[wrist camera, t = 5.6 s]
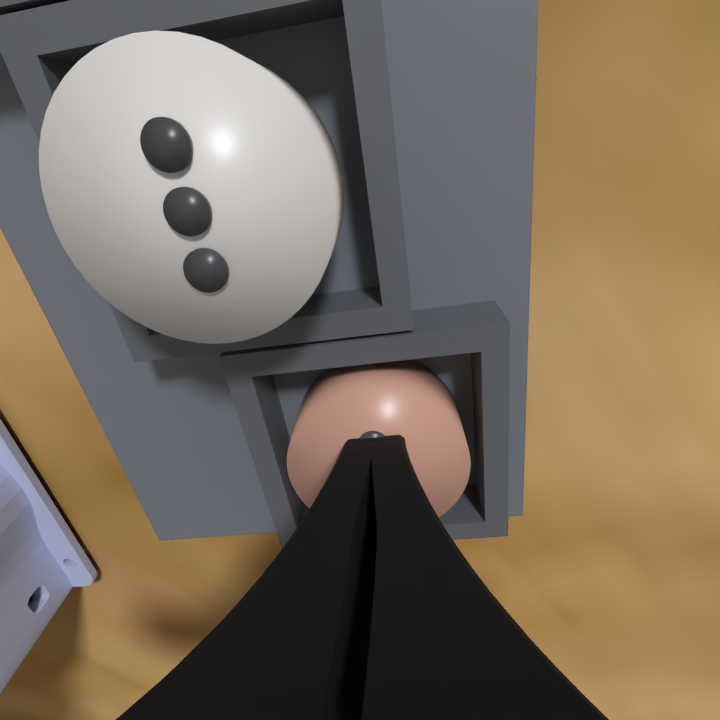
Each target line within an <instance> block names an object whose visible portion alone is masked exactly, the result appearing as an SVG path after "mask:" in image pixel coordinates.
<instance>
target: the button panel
mask: <svg viewBox="0 0 720 720" xmlns="http://www.w3.org/2000/svg"><path fill="white" fill-rule="evenodd" d="M537 28H538V0H0V228H1V230H2V232H3V234H4V236H5V238H6V240H7V242H8V244H9V246H10V248H11V250H12V252H13V253H14V255H15V257H16V259H17V261H18V263H19V265H20V267H21V269H22V271H23V273H24V275H25V277H26V279H27V281H28V283H29V285H30V287H31V289H32V291H33V293H34V295H35V297H36V299H37V301H38V303H39V305H40V307H41V308H42V310H43V312H44V314H45V316H46V318H47V320H48V322H49V324H50V326H51V328H52V330H53V332H54V334H55V336H56V338H57V340H58V342H59V344H60V346H61V348H62V350H63V352H64V354H65V356H66V358H67V360H68V362H69V364H70V365H71V367H72V369H73V371H74V373H75V375H76V377H77V379H78V381H79V383H80V385H81V387H82V389H83V391H84V393H85V395H86V397H87V399H88V401H89V403H90V405H91V407H92V409H93V411H94V413H95V415H96V417H97V419H98V420H99V422H100V424H101V426H102V428H103V430H104V432H105V434H106V436H107V438H108V440H109V442H110V444H111V446H112V448H113V450H114V452H115V454H116V456H117V458H118V460H119V462H120V464H121V466H122V468H123V470H124V472H125V474H126V475H127V477H128V479H129V481H130V483H131V485H132V487H133V489H134V491H135V493H136V495H137V497H138V499H139V501H140V503H141V505H142V507H143V509H144V511H145V513H146V515H147V517H148V519H149V521H150V523H151V525H152V527H153V529H154V530H155V532H156V534H157V536H158V538H159V540H174V539H188V538H203V537H217V536H232V535H246V534H261V533H275V532H277V534H278V537H279V540H280V543H281V546H282V549H283V547H284V546H285V544H286V543H287V542H288V540H289V539H290V537H291V536H292V534H293V533H294V531H295V530H296V528H297V527H298V525H299V524H300V522H301V521H302V519H303V518H304V516H305V515H306V513H307V512H308V510H309V508H308V507H307V506H306V505H305V504H304V503H303V502H302V500H301V499H300V498H299V496H298V495H297V494H296V492H295V490H294V488H293V486H292V484H291V482H290V479H289V476H288V471H287V452H288V447H289V444H290V440H291V437H292V434H293V430H294V427H295V423H296V420H297V417H298V413H299V410H300V407H301V403H302V400H303V397H304V395H305V393H306V391H307V390H308V388H309V387H310V385H311V384H312V383H313V381H314V380H315V379H316V378H317V377H318V376H319V375H320V374H322V373H323V372H324V371H325V370H327V369H328V368H337V367H346V366H355V365H364V364H373V363H383V362H392V361H401V360H413V361H415V362H417V363H419V364H422V365H423V366H425V367H427V368H428V369H430V370H431V371H432V372H434V373H435V374H436V375H437V376H439V377H440V378H441V380H442V381H443V382H444V383H445V384H446V385H447V387H448V388H449V390H450V391H451V393H452V395H453V397H454V399H455V402H456V405H457V408H458V412H459V415H460V419H461V423H462V426H463V430H464V434H465V438H466V441H467V445H468V449H469V452H470V460H471V467H470V475H469V480H468V483H467V485H466V488H465V490H464V491H463V493H462V495H461V497H460V498H459V499H458V501H457V502H456V503H455V504H454V505H453V506H452V507H451V508H450V509H449V510H448V511H447V512H446V513H444V514H443V515H442V516H440V517H439V519H440V521H441V522H442V524H443V525H444V527H445V529H446V530H447V532H448V534H449V535H450V537H451V538H452V540H455V539H471V538H486V537H502V536H508V516H523V489H524V456H525V423H526V390H527V357H528V324H529V291H530V259H531V226H532V193H533V160H534V127H535V94H536V61H537ZM147 31H173V32H181V33H186V34H191V35H195V36H200V37H203V38H206V39H208V40H211V41H214V42H216V43H219V44H222V45H224V46H226V47H228V48H229V49H231V50H233V51H235V52H237V53H239V54H241V55H243V56H244V57H246V58H248V59H250V60H252V61H254V62H256V63H257V64H259V65H261V66H263V67H265V68H267V69H269V70H270V71H272V72H274V73H276V74H277V75H278V76H280V77H281V78H282V79H284V80H285V81H287V82H288V83H289V84H290V85H292V86H293V87H294V88H295V89H296V90H297V91H298V92H299V93H300V94H301V95H302V96H303V97H304V98H305V99H306V100H307V102H308V103H309V104H310V105H311V107H312V108H313V109H314V110H315V111H316V113H317V115H318V116H319V118H320V119H321V121H322V122H323V124H324V125H325V127H326V129H327V131H328V133H329V135H330V137H331V139H332V142H333V144H334V146H335V149H336V152H337V155H338V158H339V161H340V166H341V171H342V175H343V183H344V194H345V196H344V214H343V220H342V226H341V230H340V233H339V237H338V240H337V243H336V245H335V248H334V250H333V252H332V255H331V257H330V260H329V262H328V265H327V267H326V269H325V272H324V274H323V276H322V278H321V280H320V283H319V284H318V286H317V287H316V289H315V291H314V292H313V294H312V295H311V297H310V298H309V299H308V300H307V302H306V303H305V304H304V305H303V306H302V308H301V309H300V310H299V311H297V312H296V313H295V314H294V315H293V316H292V317H291V318H290V319H288V320H287V321H286V322H284V323H283V324H281V325H280V326H278V327H277V328H275V329H273V330H271V331H269V332H267V333H265V334H262V335H260V336H257V337H254V338H251V339H248V340H244V341H238V342H233V343H220V344H209V343H196V342H191V341H185V340H180V339H177V338H173V337H170V336H167V335H164V334H161V333H159V332H156V331H154V330H152V329H149V328H147V327H145V326H144V325H142V324H140V323H138V322H136V321H134V320H132V319H131V318H129V317H128V316H127V315H125V314H124V313H122V312H121V311H119V310H118V309H116V308H115V307H114V306H113V305H112V304H110V303H109V302H108V301H107V300H106V299H104V298H103V297H102V296H101V295H100V294H99V293H98V292H97V291H96V290H95V289H94V288H93V287H92V286H91V285H90V284H89V283H88V282H87V280H86V279H85V278H84V277H83V275H82V274H81V273H80V272H79V270H78V269H77V268H76V267H75V265H74V264H73V262H72V261H71V259H70V257H69V256H68V254H67V253H66V251H65V250H64V248H63V246H62V244H61V242H60V240H59V238H58V236H57V234H56V232H55V230H54V227H53V225H52V222H51V220H50V217H49V215H48V212H47V208H46V204H45V201H44V197H43V193H42V187H41V181H40V174H39V144H40V135H41V129H42V125H43V121H44V117H45V113H46V110H47V108H48V105H49V103H50V101H51V98H52V96H53V94H54V92H55V90H56V89H57V87H58V86H59V84H60V82H61V81H62V79H63V78H64V76H65V75H66V74H67V73H68V72H69V71H70V69H71V68H72V67H73V66H74V65H75V64H76V63H77V62H78V61H79V60H80V59H81V58H83V57H84V56H85V55H87V54H88V53H89V52H91V51H92V50H93V49H95V48H96V47H98V46H100V45H102V44H104V43H106V42H108V41H110V40H112V39H115V38H118V37H122V36H125V35H129V34H132V33H138V32H147Z"/></svg>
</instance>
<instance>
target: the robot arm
mask: <svg viewBox="0 0 720 720" xmlns="http://www.w3.org/2000/svg"><path fill="white" fill-rule="evenodd" d="M96 577H97V571H96V569H95V568H94V566H93V565H92V563H91V561H90V560H89V558H88V557H87V555H86V554H85V552H84V550H83V549H82V547H81V546H80V544H79V542H78V541H77V539H76V538H75V536H74V535H73V533H72V531H71V530H70V528H69V527H68V525H67V523H66V522H65V520H64V519H63V517H62V516H61V514H60V512H59V511H58V509H57V508H56V506H55V504H54V503H53V501H52V500H51V498H50V497H49V495H48V493H47V492H46V490H45V489H44V487H43V485H42V484H41V482H40V481H39V479H38V478H37V476H36V474H35V473H34V471H33V470H32V468H31V466H30V465H29V463H28V462H27V460H26V459H25V457H24V455H23V454H22V452H21V451H20V449H19V447H18V446H17V444H16V443H15V441H14V440H13V438H12V436H11V435H10V433H9V432H8V430H7V428H6V427H5V425H4V424H3V422H2V421H1V419H0V694H1V692H2V691H3V689H4V688H5V686H6V685H7V683H8V682H9V680H10V679H11V677H12V676H13V674H14V673H15V672H16V670H17V669H18V667H19V666H20V664H21V663H22V661H23V660H24V658H25V657H26V655H27V654H28V652H29V651H30V649H31V648H32V646H33V645H34V643H35V642H36V641H37V639H38V638H39V636H40V635H41V633H42V632H43V630H44V629H45V627H46V626H47V624H48V623H49V621H50V620H51V618H52V617H53V615H54V614H55V613H56V611H57V610H58V608H59V607H60V605H61V604H62V602H63V601H64V599H65V598H66V596H67V595H68V593H69V592H70V590H71V589H72V587H82V586H89V585H91V584H92V583H93V582H94V580H95V579H96ZM116 720H609V719H608V718H607V717H606V716H605V715H603V714H602V713H601V712H600V711H599V710H598V709H597V708H596V707H595V706H594V705H593V704H592V703H591V702H590V701H589V700H588V699H587V698H586V697H585V696H584V695H583V694H582V693H581V692H580V691H579V690H578V689H577V688H576V687H575V686H574V685H573V684H572V683H571V682H570V681H569V680H568V679H567V678H566V677H565V676H564V675H563V673H562V672H561V671H560V670H559V669H558V668H557V667H556V666H555V665H554V664H553V663H552V662H551V661H550V660H549V659H548V658H547V656H546V655H545V654H544V653H543V652H542V651H541V650H540V649H539V648H538V647H537V646H536V645H535V644H534V642H533V641H532V640H531V639H530V638H529V637H528V636H527V635H526V633H525V632H524V631H523V630H522V629H521V628H520V626H519V625H518V624H517V623H516V622H515V620H514V619H513V618H512V617H511V616H510V615H509V613H508V612H507V611H506V610H505V609H504V608H503V606H502V605H501V604H500V603H499V602H498V600H497V599H496V598H495V597H494V596H493V595H492V593H491V592H490V591H489V590H488V588H487V587H486V586H485V584H484V583H483V582H482V580H481V579H480V578H479V576H478V575H477V574H476V572H475V571H474V570H473V569H472V567H471V566H470V564H469V563H468V562H467V560H466V559H465V557H464V556H463V554H462V553H461V552H460V550H459V549H458V547H457V546H456V544H455V543H454V541H453V540H452V538H451V537H450V535H449V534H448V532H447V530H446V529H445V527H444V525H443V524H442V522H441V521H440V519H439V517H438V516H437V514H436V512H435V510H434V509H433V507H432V505H431V503H430V501H429V500H428V498H427V496H426V494H425V492H424V490H423V488H422V486H421V484H420V482H419V480H418V478H417V475H416V473H415V471H414V468H413V466H412V463H411V461H410V458H409V455H408V452H407V448H406V443H405V438H404V437H402V436H401V435H390V436H384V437H378V438H367V439H360V438H356V439H348V440H347V441H346V442H345V444H344V446H343V448H342V450H341V453H340V455H339V457H338V459H337V461H336V463H335V465H334V467H333V469H332V471H331V472H330V474H329V476H328V478H327V480H326V482H325V483H324V485H323V487H322V489H321V490H320V492H319V494H318V495H317V497H316V499H315V501H314V502H313V504H312V506H311V507H310V509H309V510H308V512H307V513H306V515H305V516H304V518H303V519H302V521H301V522H300V524H299V525H298V527H297V528H296V530H295V531H294V533H293V534H292V536H291V537H290V539H289V540H288V542H287V543H286V544H285V546H284V547H283V549H282V550H281V551H280V553H279V554H278V555H277V557H276V558H275V559H274V561H273V562H272V563H271V564H270V566H269V567H268V568H267V569H266V571H265V572H264V573H263V574H262V576H261V577H260V578H259V579H258V581H257V582H256V583H255V584H254V585H253V586H252V587H251V589H250V590H249V591H248V592H247V593H246V594H245V596H244V597H243V598H242V599H241V600H240V601H239V602H238V604H237V605H236V606H235V607H234V608H233V609H232V610H231V611H230V613H229V614H228V615H227V616H226V617H225V618H224V619H223V620H222V621H221V622H220V623H219V624H218V625H217V626H216V627H215V628H214V629H213V630H212V631H211V632H210V633H209V634H208V635H207V636H206V637H205V638H204V639H203V640H202V641H201V642H200V643H199V644H198V645H197V646H196V647H195V648H194V649H193V650H192V651H191V652H190V653H189V654H188V655H187V656H186V657H185V658H184V659H183V660H182V661H181V662H180V663H179V664H178V665H177V666H176V667H175V668H174V669H173V670H172V671H171V672H170V673H169V674H167V675H166V676H165V677H164V678H163V679H162V680H161V681H160V682H159V683H158V684H156V685H155V686H154V687H153V688H152V689H151V690H150V691H148V692H147V693H146V694H145V695H144V696H143V697H142V698H140V699H139V700H138V701H137V702H136V703H135V704H133V705H132V706H131V707H130V708H129V709H128V710H127V711H125V712H124V713H123V714H122V715H121V716H120V717H118V718H117V719H116Z"/></svg>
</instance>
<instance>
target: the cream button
mask: <svg viewBox="0 0 720 720" xmlns="http://www.w3.org/2000/svg"><path fill="white" fill-rule="evenodd" d="M39 174H40V181H41V187H42V193H43V197H44V201H45V204H46V208H47V212H48V215H49V217H50V220H51V222H52V225H53V227H54V230H55V232H56V234H57V236H58V238H59V240H60V242H61V244H62V246H63V248H64V250H65V251H66V253H67V254H68V256H69V257H70V259H71V261H72V262H73V264H74V265H75V267H76V268H77V269H78V270H79V272H80V273H81V274H82V275H83V277H84V278H85V279H86V280H87V282H88V283H89V284H90V285H91V286H92V287H93V288H94V289H95V290H96V291H97V292H98V293H99V294H100V295H101V296H102V297H103V298H104V299H106V300H107V301H108V302H109V303H110V304H112V305H113V306H114V307H115V308H116V309H118V310H119V311H121V312H122V313H124V314H125V315H127V316H128V317H129V318H131V319H132V320H134V321H136V322H138V323H140V324H142V325H144V326H145V327H147V328H149V329H152V330H154V331H156V332H159V333H161V334H164V335H167V336H170V337H173V338H177V339H180V340H185V341H191V342H196V343H209V344H220V343H233V342H238V341H244V340H248V339H251V338H254V337H257V336H260V335H262V334H265V333H267V332H269V331H271V330H273V329H275V328H277V327H278V326H280V325H281V324H283V323H284V322H286V321H287V320H288V319H290V318H291V317H292V316H293V315H294V314H295V313H296V312H297V311H299V310H300V309H301V308H302V306H303V305H304V304H305V303H306V302H307V300H308V299H309V298H310V297H311V295H312V294H313V292H314V291H315V289H316V287H317V286H318V284H319V283H320V280H321V278H322V276H323V274H324V272H325V269H326V267H327V265H328V262H329V260H330V257H331V255H332V252H333V250H334V248H335V245H336V243H337V240H338V237H339V233H340V230H341V226H342V220H343V214H344V196H345V194H344V183H343V175H342V171H341V166H340V161H339V158H338V155H337V152H336V149H335V146H334V144H333V142H332V139H331V137H330V135H329V133H328V131H327V129H326V127H325V125H324V124H323V122H322V121H321V119H320V118H319V116H318V115H317V113H316V111H315V110H314V109H313V108H312V107H311V105H310V104H309V103H308V102H307V100H306V99H305V98H304V97H303V96H302V95H301V94H300V93H299V92H298V91H297V90H296V89H295V88H294V87H293V86H292V85H290V84H289V83H288V82H287V81H285V80H284V79H282V78H281V77H280V76H278V75H277V74H276V73H274V72H272V71H270V70H269V69H267V68H265V67H263V66H261V65H259V64H257V63H256V62H254V61H252V60H250V59H248V58H246V57H244V56H243V55H241V54H239V53H237V52H235V51H233V50H231V49H229V48H228V47H226V46H224V45H222V44H219V43H216V42H214V41H211V40H208V39H206V38H203V37H200V36H195V35H191V34H186V33H181V32H173V31H147V32H138V33H132V34H129V35H125V36H122V37H118V38H115V39H112V40H110V41H108V42H106V43H104V44H102V45H100V46H98V47H96V48H95V49H93V50H92V51H91V52H89V53H88V54H87V55H85V56H84V57H83V58H81V59H80V60H79V61H78V62H77V63H76V64H75V65H74V66H73V67H72V68H71V69H70V71H69V72H68V73H67V74H66V75H65V76H64V78H63V79H62V81H61V82H60V84H59V86H58V87H57V89H56V90H55V92H54V94H53V96H52V98H51V101H50V103H49V105H48V108H47V110H46V113H45V117H44V121H43V125H42V129H41V135H40V144H39Z"/></svg>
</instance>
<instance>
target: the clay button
mask: <svg viewBox="0 0 720 720" xmlns="http://www.w3.org/2000/svg"><path fill="white" fill-rule="evenodd" d="M390 435H401V436H402V437H404V438H405V443H406V448H407V452H408V455H409V458H410V461H411V463H412V466H413V468H414V471H415V473H416V475H417V478H418V480H419V482H420V484H421V486H422V488H423V490H424V492H425V494H426V496H427V498H428V500H429V501H430V503H431V505H432V507H433V509H434V510H435V512H436V514H437V516H438V517H440V516H442V515H443V514H444V513H446V512H447V511H448V510H449V509H450V508H451V507H452V506H453V505H454V504H455V503H456V502H457V501H458V499H459V498H460V497H461V495H462V493H463V491H464V490H465V488H466V485H467V483H468V480H469V475H470V467H471V460H470V452H469V449H468V445H467V441H466V438H465V434H464V430H463V426H462V423H461V419H460V415H459V412H458V408H457V405H456V402H455V399H454V397H453V395H452V393H451V391H450V390H449V388H448V387H447V385H446V384H445V383H444V382H443V381H442V380H441V378H440V377H439V376H437V375H436V374H435V373H434V372H432V371H431V370H430V369H428V368H427V367H425V366H423V365H422V364H419V363H417V362H415V361H413V360H401V361H392V362H383V363H373V364H364V365H355V366H346V367H337V368H328V369H327V370H325V371H324V372H323V373H322V374H320V375H319V376H318V377H317V378H316V379H315V380H314V381H313V383H312V384H311V385H310V387H309V388H308V390H307V391H306V393H305V395H304V397H303V400H302V403H301V407H300V410H299V413H298V417H297V420H296V423H295V427H294V430H293V434H292V437H291V440H290V444H289V447H288V452H287V471H288V476H289V479H290V482H291V484H292V486H293V488H294V490H295V492H296V494H297V495H298V496H299V498H300V499H301V500H302V502H303V503H304V504H305V505H306V506H307V507H308V508H309V509H310V507H311V506H312V504H313V502H314V501H315V499H316V497H317V495H318V494H319V492H320V490H321V489H322V487H323V485H324V483H325V482H326V480H327V478H328V476H329V474H330V472H331V471H332V469H333V467H334V465H335V463H336V461H337V459H338V457H339V455H340V453H341V450H342V448H343V446H344V444H345V442H346V441H347V440H348V439H356V438H360V439H367V438H378V437H384V436H390Z"/></svg>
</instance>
